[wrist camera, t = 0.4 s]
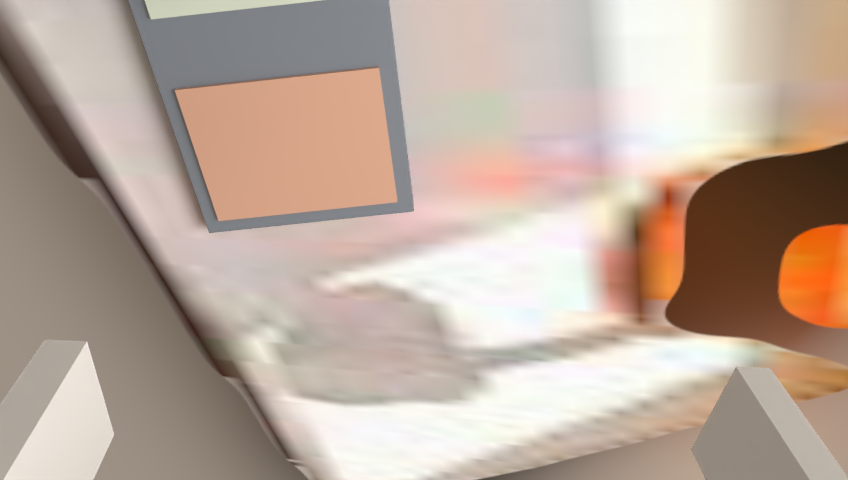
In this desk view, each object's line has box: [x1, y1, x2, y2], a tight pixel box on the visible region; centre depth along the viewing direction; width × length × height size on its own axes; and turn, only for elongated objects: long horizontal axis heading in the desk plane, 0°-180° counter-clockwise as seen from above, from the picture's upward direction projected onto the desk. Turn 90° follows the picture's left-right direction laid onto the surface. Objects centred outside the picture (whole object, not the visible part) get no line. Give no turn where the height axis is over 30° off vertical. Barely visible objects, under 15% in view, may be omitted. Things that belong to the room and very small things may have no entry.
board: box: [128, 0, 414, 233], centre depth 34 cm, size 24×14×2 cm, turn 6°
